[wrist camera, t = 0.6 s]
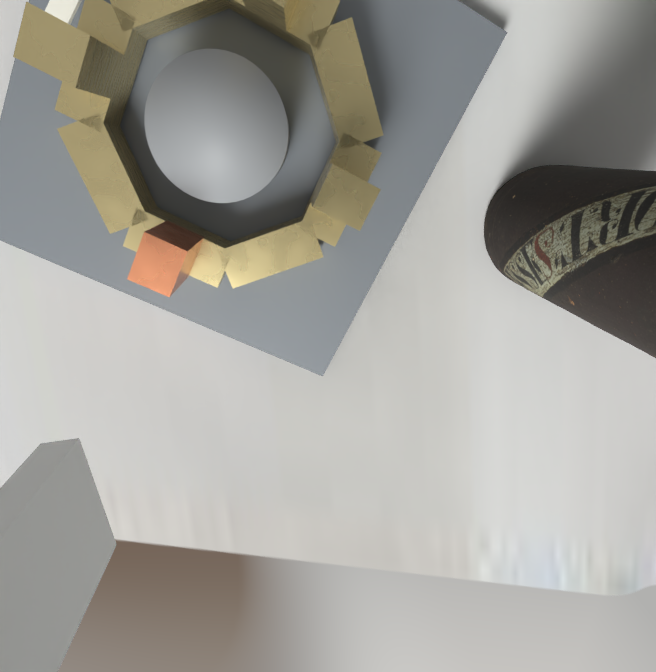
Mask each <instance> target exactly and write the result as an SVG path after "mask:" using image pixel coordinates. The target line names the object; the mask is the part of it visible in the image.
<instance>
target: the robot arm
mask: <svg viewBox="0 0 656 672" xmlns="http://www.w3.org/2000/svg"><path fill="white" fill-rule="evenodd" d="M115 547H116V542H115V539H114V536H113V533H112V530H111V527H110V525H109V522H108V519H107V516H106V513H105V510H104V508H103V505H102V502H101V499H100V496H99V493H98V491H97V488H96V485H95V482H94V479H93V476H92V474H91V471H90V468H89V465H88V462H87V459H86V457H85V454H84V451H83V448H82V445H81V442H80V440H79V438H77V439H70V440H63V441H56V442H49V443H41V444H40V445H39V446H38V447H37V448H36V449H35V450H34V452H33V453H32V454H31V455H30V456H29V457H28V458H27V459H26V460H25V462H24V463H23V464H22V465H21V466H20V467H19V468H18V469H17V470H16V472H15V473H14V474H13V475H12V476H11V477H10V478H9V479H8V480H7V481H6V483H5V484H4V485H3V486H2V487H1V488H0V672H58V670H59V668H60V666H61V664H62V661H63V659H64V657H65V655H66V653H67V651H68V648H69V646H70V644H71V642H72V640H73V638H74V635H75V633H76V631H77V629H78V627H79V625H80V623H81V620H82V618H83V616H84V614H85V612H86V610H87V607H88V605H89V603H90V601H91V599H92V596H93V594H94V592H95V590H96V588H97V586H98V584H99V581H100V579H101V577H102V575H103V573H104V571H105V568H106V566H107V564H108V562H109V560H110V558H111V556H112V553H113V551H114V549H115Z"/></svg>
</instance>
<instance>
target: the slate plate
mask: <svg viewBox="0 0 656 672" xmlns="http://www.w3.org/2000/svg"><path fill="white" fill-rule="evenodd" d="M84 1H85V0H29V3H30V4H32V5H34V6H36V7H38V8H40V9H41V10H43V11H45V12H47V13H49V14H51V15H53V16H55V17H57V18H58V19H60V20H62V21H64V22H66V23H68V24H70V25H72V26H74V27H75V28H77V26H78V22H79V19H80V15H81V11H82V8H83V4H84ZM104 1H106V2H107V3H109V4H111V2H110V0H104ZM351 17H352V19H353V23H354V27H355V30H356V34H357V38H358V42H359V45H360V49H361V53H362V56H363V60H364V64H365V68H366V71H367V75H368V79H369V83H370V86H371V90H372V94H373V98H374V101H375V105H376V109H377V112H378V116H379V120H380V124H381V127H382V131H383V136H380V137H377V138H375V139H372V140H369V141H366V142H363V143H364V144H366V145H368V146H370V147H372V148H373V149H375V150H377V151H379V152H381V153H382V154H381V156H380V158H379V160H378V162H377V164H376V166H375V168H374V170H373V172H372V174H371V176H370V178H369V180H368V183H370V184H372V185H373V186H375V187H377V188H379V189H381V190H380V192H379V194H378V196H377V198H376V200H375V202H374V204H373V206H372V208H371V210H370V212H369V214H368V216H367V218H366V220H365V222H364V224H363V226H362V228H361V230H360V231H359V230H357V229H355V228H353V227H351V226H349V225H347V224H346V226H345V228H344V230H343V232H342V234H341V236H340V238H339V240H338V242H337V244H336V246H335V247H334V246H332V245H330V244H328V243H326V242H324V241H322V240H320V239H318V241H319V244H320V246H321V249H322V253H323V258H320V259H317V260H314V261H311V262H308V263H305V264H303V265H300V266H297V267H294V268H291V269H288V270H285V271H282V272H279V273H277V274H274V275H271V276H268V277H265V278H262V279H259V280H256V281H254V282H251V283H248V284H245V285H242V286H239V287H236V288H232V286H231V283H230V281H229V279H228V276H227V274H226V273H225V276H224V278H223V280H222V281H221V283H220V285H219V286H218V288H217V287H214V286H212V285H210V284H207V283H205V282H203V281H201V280H198V279H196V278H194V277H192V276H188V278H187V279H186V280H185V281H184V282H183V283H182V284H181V285H180V286H179V288H178V289H177V290H176V291H175V292H174V293H173V294H172V295H171V296H170V297H167V296H165V295H163V294H160V293H158V292H156V291H153V290H151V289H149V288H146V287H144V286H142V285H139V284H137V283H135V282H132V281H130V280H128V279H127V278H128V275H129V272H130V269H131V267H132V264H133V261H134V258H135V256H136V253H137V252H135V251H133V250H131V249H128V248H126V247H124V246H123V244H124V241H125V238H126V235H127V232H128V229H129V227H128V228H125V229H122V230H120V231H117V232H114V233H111V234H110V233H109V231H108V229H107V227H106V225H105V223H104V221H103V219H102V217H101V215H100V213H99V211H98V209H97V207H96V205H95V203H94V201H93V199H92V197H91V195H90V193H89V191H88V189H87V187H86V185H85V183H84V182H83V180H82V178H81V176H80V174H79V172H78V170H77V168H76V166H75V164H74V162H73V160H72V158H71V156H70V154H69V152H68V150H67V148H66V146H65V144H64V142H63V140H62V138H61V136H60V134H59V132H58V130H57V129H58V128H61V127H63V126H66V125H68V124H71V123H74V122H76V121H77V120H75V119H72V118H70V117H68V116H66V115H64V114H62V113H60V112H58V111H56V110H55V106H56V102H57V99H58V95H59V91H60V88H61V84H62V81H61V80H59V79H57V78H55V77H53V76H51V75H49V74H47V73H45V72H43V71H41V70H39V69H37V68H35V67H33V66H31V65H29V64H27V63H25V62H23V61H21V60H19V59H17V58H15V61H14V65H13V69H12V73H11V77H10V81H9V85H8V90H7V94H6V98H5V102H4V106H3V110H2V114H1V118H0V240H1V241H3V242H5V243H8V244H10V245H13V246H15V247H17V248H20V249H22V250H24V251H27V252H29V253H32V254H34V255H36V256H39V257H41V258H43V259H46V260H48V261H50V262H53V263H55V264H58V265H60V266H62V267H65V268H67V269H69V270H72V271H74V272H77V273H79V274H81V275H84V276H86V277H88V278H91V279H93V280H95V281H98V282H100V283H103V284H105V285H107V286H110V287H112V288H114V289H117V290H119V291H122V292H124V293H126V294H129V295H131V296H133V297H136V298H138V299H141V300H143V301H145V302H148V303H150V304H152V305H155V306H157V307H159V308H162V309H164V310H167V311H169V312H171V313H174V314H176V315H178V316H181V317H183V318H186V319H188V320H190V321H193V322H195V323H197V324H200V325H202V326H204V327H207V328H209V329H212V330H214V331H216V332H219V333H221V334H223V335H226V336H228V337H231V338H233V339H235V340H238V341H240V342H242V343H245V344H247V345H250V346H252V347H254V348H257V349H259V350H261V351H264V352H266V353H268V354H271V355H273V356H276V357H278V358H280V359H283V360H285V361H287V362H290V363H292V364H295V365H297V366H299V367H302V368H304V369H306V370H309V371H311V372H314V373H316V374H318V375H321V376H323V375H324V373H325V371H326V369H327V367H328V365H329V364H330V362H331V360H332V358H333V356H334V354H335V352H336V351H337V349H338V347H339V345H340V343H341V341H342V339H343V337H344V336H345V334H346V332H347V330H348V328H349V326H350V324H351V323H352V321H353V319H354V317H355V315H356V313H357V311H358V310H359V308H360V306H361V304H362V302H363V300H364V298H365V297H366V295H367V293H368V291H369V289H370V287H371V285H372V283H373V282H374V280H375V278H376V276H377V274H378V272H379V270H380V269H381V267H382V265H383V263H384V261H385V259H386V257H387V256H388V254H389V252H390V250H391V248H392V246H393V244H394V243H395V241H396V239H397V237H398V235H399V233H400V231H401V229H402V228H403V226H404V224H405V222H406V220H407V218H408V216H409V215H410V213H411V211H412V209H413V207H414V205H415V203H416V202H417V200H418V198H419V196H420V194H421V192H422V190H423V188H424V187H425V185H426V183H427V181H428V179H429V177H430V175H431V174H432V172H433V170H434V168H435V166H436V164H437V162H438V161H439V159H440V157H441V155H442V153H443V151H444V149H445V148H446V146H447V144H448V142H449V140H450V138H451V136H452V134H453V133H454V131H455V129H456V127H457V125H458V123H459V121H460V120H461V118H462V116H463V114H464V112H465V110H466V108H467V107H468V105H469V103H470V101H471V99H472V97H473V95H474V94H475V92H476V90H477V88H478V86H479V84H480V82H481V80H482V79H483V77H484V75H485V73H486V71H487V69H488V67H489V66H490V64H491V62H492V60H493V58H494V56H495V54H496V53H497V51H498V49H499V47H500V45H501V43H502V41H503V40H504V38H505V36H506V34H507V32H506V31H505V30H503V29H502V28H500V27H499V26H497V25H495V24H494V23H492V22H491V21H489V20H488V19H486V18H485V17H483V16H482V15H480V14H479V13H477V12H476V11H474V10H472V9H471V8H469V7H468V6H466V5H465V4H463V3H462V2H460V1H459V0H340V3H339V7H338V11H337V14H336V17H335V19H334V21H333V24H335V23H338V22H340V21H343V20H346V19H348V18H351ZM120 127H121V129H122V131H123V134H124V136H125V138H126V140H127V142H128V145H129V147H130V149H131V151H132V153H133V155H134V158H135V160H136V162H137V164H138V166H139V169H140V171H141V173H142V175H143V177H144V179H145V182H146V184H147V186H148V188H149V190H150V192H151V195H152V197H153V199H154V201H155V203H156V206H157V207H158V208H160V209H163V210H165V211H167V212H169V213H171V214H173V215H175V216H177V217H180V218H182V219H184V220H186V221H188V222H190V223H192V224H195V225H197V226H199V227H201V228H203V229H205V230H207V231H210V232H212V233H214V234H216V235H218V236H220V237H222V238H225V239H227V240H229V241H233V240H236V239H238V238H241V237H244V236H247V235H250V234H252V233H255V232H258V231H261V230H264V229H267V228H269V227H272V226H275V225H278V224H281V223H284V222H286V221H289V220H292V219H295V218H298V217H301V216H302V214H303V212H304V210H305V208H306V206H307V204H308V201H309V199H310V197H311V195H312V193H313V191H314V189H315V186H316V184H317V182H318V180H319V178H320V176H321V173H322V171H323V169H324V167H325V165H326V163H327V161H328V158H329V156H330V154H331V152H332V150H333V148H334V145H335V143H336V140H335V137H334V134H333V131H332V127H331V124H330V121H329V117H328V114H327V111H326V108H325V104H324V101H323V98H322V94H321V91H320V88H319V85H318V81H317V78H316V75H315V71H314V68H313V65H312V62H311V58H310V55H309V54H307V53H306V52H304V51H302V50H301V49H299V48H297V47H295V46H294V45H292V44H290V43H288V42H287V41H285V40H283V39H281V38H280V37H278V36H276V35H275V34H273V33H271V32H269V31H268V30H266V29H264V28H262V27H261V26H259V25H257V24H256V23H254V22H252V21H250V20H249V19H247V18H245V17H243V16H242V15H240V14H238V13H236V12H235V11H233V10H231V9H230V8H229V9H226V10H224V11H221V12H218V13H216V14H213V15H211V16H208V17H206V18H203V19H200V20H198V21H195V22H193V23H190V24H187V25H185V26H182V27H180V28H177V29H174V30H172V31H169V32H167V33H164V34H162V35H159V36H156V37H154V38H151V39H149V40H147V43H146V46H145V49H144V52H143V55H142V58H141V61H140V65H139V68H138V71H137V74H136V77H135V80H134V83H133V86H132V90H131V93H130V96H129V99H128V102H127V105H126V108H125V111H124V115H123V118H122V121H121V124H120Z"/></svg>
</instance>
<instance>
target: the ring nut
mask: <svg viewBox="0 0 656 672" xmlns="http://www.w3.org/2000/svg"><path fill="white" fill-rule="evenodd" d="M110 2H111V4H109V3H107V2H106V1H104V0H85V1H84V4H83V8H82V11H81V15H80V19H79V22H78V26H77V28H75V27H74V26H72V25H70V24H68V23H66V22H64V21H62V20H60V19H58V18H57V17H55V16H53V15H51V14H49V13H47V12H45V11H43V10H41V9H40V8H38V7H36V6H34V5H32V4H30V3H28V2H26V6H25V10H24V14H23V18H22V22H21V26H20V31H19V35H18V39H17V43H16V47H15V51H14V56H13V57H15V58H17V59H19V60H21V61H23V62H25V63H27V64H29V65H31V66H33V67H35V68H37V69H39V70H41V71H43V72H45V73H47V74H49V75H51V76H53V77H55V78H57V79H59V80H61V81H62V84H61V88H60V91H59V95H58V99H57V102H56V106H55V110H56V111H58V112H60V113H62V114H64V115H66V116H68V117H70V118H72V119H75V120H77V121H76V122H74V123H71V124H68V125H66V126H63V127H61V128H58V129H57V130H58V132H59V134H60V136H61V138H62V140H63V142H64V144H65V146H66V148H67V150H68V152H69V154H70V156H71V158H72V160H73V162H74V164H75V166H76V168H77V170H78V172H79V174H80V176H81V178H82V180H83V182H84V183H85V185H86V187H87V189H88V191H89V193H90V195H91V197H92V199H93V201H94V203H95V205H96V207H97V209H98V211H99V213H100V215H101V217H102V219H103V221H104V223H105V225H106V227H107V229H108V231H109V233H110V234H111V233H114V232H117V231H120V230H122V229H125V228H128V227H129V229H128V232H127V235H126V238H125V241H124V244H123V246H124V247H126V248H128V249H131V250H133V251H135V252H137V253H136V256H135V258H134V261H133V264H132V267H131V269H130V272H129V275H128V278H127V279H128V280H130V281H132V282H135V283H137V284H139V285H142V286H144V287H146V288H149V289H151V290H153V291H156V292H158V293H160V294H163V295H165V296H167V297H170V296H171V295H172V294H173V293H174V292H175V291H176V290H177V289H178V288H179V286H180V285H181V284H182V283H183V282H184V281H185V280H186V279H187V278H188V276H192V277H194V278H196V279H198V280H201V281H203V282H205V283H207V284H210V285H212V286H214V287H217V288H218V286H219V285H220V283H221V281H222V280H223V278H224V276H225V273H226V274H227V276H228V279H229V281H230V283H231V286H232V288H236V287H239V286H242V285H245V284H248V283H251V282H254V281H256V280H259V279H262V278H265V277H268V276H271V275H274V274H277V273H279V272H282V271H285V270H288V269H291V268H294V267H297V266H300V265H303V264H305V263H308V262H311V261H314V260H317V259H320V258H323V253H322V249H321V246H320V244H319V241H318V239H320V240H322V241H324V242H326V243H328V244H330V245H332V246H334V247H335V246H336V244H337V242H338V240H339V238H340V236H341V234H342V232H343V230H344V228H345V226H346V224H347V225H349V226H351V227H353V228H355V229H357V230H359V231H360V230H361V228H362V226H363V224H364V222H365V220H366V218H367V216H368V214H369V212H370V210H371V208H372V206H373V204H374V202H375V200H376V198H377V196H378V194H379V192H380V190H381V189H379V188H377V187H375V186H373V185H372V184H370V183H368V180H369V178H370V176H371V174H372V172H373V170H374V168H375V166H376V164H377V162H378V160H379V158H380V156H381V154H382V153H381V152H379V151H377V150H375V149H373V148H372V147H370V146H368V145H366V144H364V143H363V142H366V141H369V140H372V139H375V138H377V137H380V136H383V131H382V127H381V124H380V120H379V116H378V112H377V109H376V105H375V101H374V98H373V94H372V90H371V86H370V83H369V79H368V75H367V71H366V68H365V64H364V60H363V56H362V53H361V49H360V45H359V42H358V38H357V34H356V30H355V27H354V23H353V19H352V17H351V18H348V19H346V20H343V21H340V22H338V23H335V24H333V21H334V19H335V17H336V14H337V11H338V7H339V3H340V0H110ZM229 8H230V9H231V10H233V11H235V12H236V13H238V14H240V15H242V16H243V17H245V18H247V19H249V20H250V21H252V22H254V23H256V24H257V25H259V26H261V27H262V28H264V29H266V30H268V31H269V32H271V33H273V34H275V35H276V36H278V37H280V38H281V39H283V40H285V41H287V42H288V43H290V44H292V45H294V46H295V47H297V48H299V49H301V50H302V51H304V52H306V53H307V54H309V55H310V58H311V62H312V65H313V68H314V71H315V75H316V78H317V81H318V85H319V88H320V91H321V94H322V98H323V101H324V104H325V108H326V111H327V114H328V117H329V121H330V124H331V127H332V131H333V134H334V137H335V140H336V143H335V145H334V148H333V150H332V152H331V154H330V156H329V158H328V161H327V163H326V165H325V167H324V169H323V171H322V173H321V176H320V178H319V180H318V182H317V184H316V186H315V189H314V191H313V193H312V195H311V197H310V199H309V201H308V204H307V206H306V208H305V210H304V212H303V214H302V216H301V217H298V218H295V219H292V220H289V221H286V222H284V223H281V224H278V225H275V226H272V227H269V228H267V229H264V230H261V231H258V232H255V233H252V234H250V235H247V236H244V237H241V238H238V239H236V240H233V241H229V240H227V239H225V238H222V237H220V236H218V235H216V234H214V233H212V232H210V231H207V230H205V229H203V228H201V227H199V226H197V225H195V224H192V223H190V222H188V221H186V220H184V219H182V218H180V217H177V216H175V215H173V214H171V213H169V212H167V211H165V210H163V209H160V208H158V207H157V206H156V203H155V201H154V199H153V197H152V195H151V192H150V190H149V188H148V186H147V184H146V182H145V179H144V177H143V175H142V173H141V171H140V169H139V166H138V164H137V162H136V160H135V158H134V155H133V153H132V151H131V149H130V147H129V145H128V142H127V140H126V138H125V136H124V134H123V131H122V129H121V127H120V124H121V121H122V118H123V115H124V111H125V108H126V105H127V102H128V99H129V96H130V93H131V90H132V86H133V83H134V80H135V77H136V74H137V71H138V68H139V65H140V61H141V58H142V55H143V52H144V49H145V46H146V43H147V40H149V39H151V38H154V37H156V36H159V35H162V34H164V33H167V32H169V31H172V30H174V29H177V28H180V27H182V26H185V25H187V24H190V23H193V22H195V21H198V20H200V19H203V18H206V17H208V16H211V15H213V14H216V13H218V12H221V11H224V10H226V9H229Z"/></svg>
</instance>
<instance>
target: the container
mask: <svg viewBox="0 0 656 672" xmlns="http://www.w3.org/2000/svg"><path fill="white" fill-rule="evenodd" d="M484 238H485V244H486V249H487V251H488V254H489V256H490V258H491V260H492V262H493V263H494V265H495V266H496V268H497V269H498V270H499V271H500V272H501V273H502V274H503V275H504V276H506V277H507V278H509V279H510V280H512V281H513V282H515V283H517V284H519V285H520V286H522V287H524V288H526V289H527V290H529V291H531V292H533V293H535V294H537V295H538V296H540V297H542V298H544V299H546V300H548V301H550V302H552V303H554V304H555V305H557V306H559V307H561V308H563V309H565V310H567V311H569V312H571V313H573V314H574V315H576V316H578V317H580V318H582V319H584V320H585V321H587V322H589V323H591V324H593V325H594V326H596V327H598V328H600V329H602V330H604V331H606V332H608V333H610V334H612V335H614V336H615V337H617V338H619V339H621V340H623V341H625V342H627V343H629V344H631V345H633V346H635V347H636V348H638V349H640V350H642V351H644V352H646V353H648V354H649V355H651V356H653V357H655V358H656V171H639V170H624V169H607V168H592V167H579V166H565V165H549V166H540V167H536V168H533V169H530V170H527V171H525V172H522V173H520V174H518V175H517V176H515V177H514V178H512V179H511V180H510V181H508V182H507V183H506V184H505V185H504V186H503V187H502V188H501V189H500V190H499V191H498V192H497V193H496V195H495V196H494V198H493V199H492V201H491V203H490V205H489V207H488V210H487V213H486V217H485V222H484Z"/></svg>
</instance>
